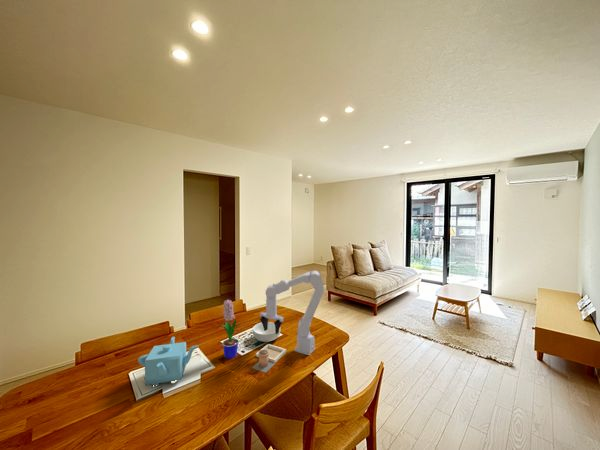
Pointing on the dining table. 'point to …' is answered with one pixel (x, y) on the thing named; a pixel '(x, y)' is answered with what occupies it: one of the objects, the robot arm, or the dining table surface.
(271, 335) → the cereal bowl
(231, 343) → the hyacinth
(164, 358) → the teakettle
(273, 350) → the square beige tray
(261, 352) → the pot
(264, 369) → the coaster
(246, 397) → the dining table surface
